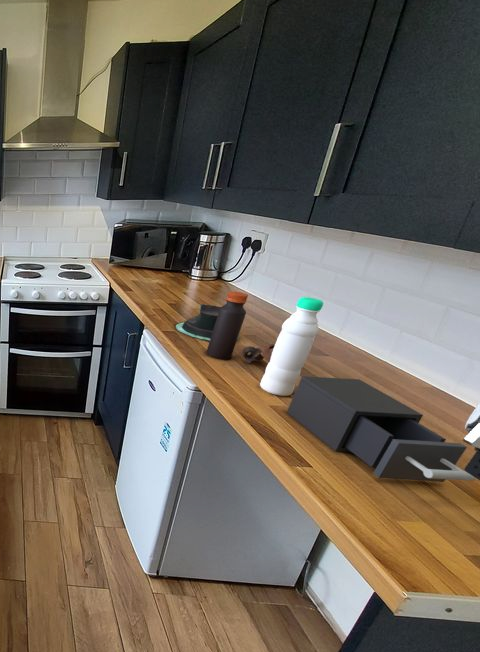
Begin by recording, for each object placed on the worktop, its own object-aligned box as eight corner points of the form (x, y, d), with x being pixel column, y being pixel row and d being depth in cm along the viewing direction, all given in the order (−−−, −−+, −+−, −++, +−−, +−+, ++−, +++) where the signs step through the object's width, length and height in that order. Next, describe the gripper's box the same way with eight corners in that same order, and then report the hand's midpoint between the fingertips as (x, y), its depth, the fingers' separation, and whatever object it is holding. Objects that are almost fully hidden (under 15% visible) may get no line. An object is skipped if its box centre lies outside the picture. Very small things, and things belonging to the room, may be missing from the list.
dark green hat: (172, 316, 157) (229, 324, 152) (172, 353, 146) (233, 363, 141) (185, 288, 145) (247, 296, 140) (186, 326, 134) (253, 336, 129)
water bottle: (256, 389, 105) (291, 298, 95) (262, 381, 110) (296, 293, 100) (288, 400, 101) (328, 305, 91) (293, 391, 106) (332, 299, 95)
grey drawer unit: (399, 455, 82) (423, 415, 78) (335, 451, 82) (356, 411, 78) (341, 415, 95) (359, 379, 91) (286, 412, 96) (302, 376, 91)
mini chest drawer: (473, 502, 69) (500, 466, 65) (403, 498, 69) (427, 461, 66) (377, 437, 86) (395, 406, 82) (322, 434, 86) (337, 402, 83)
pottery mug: (267, 362, 123) (290, 346, 117) (274, 386, 118) (298, 371, 111) (231, 349, 123) (251, 333, 117) (235, 373, 118) (257, 357, 111)
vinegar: (225, 361, 121) (247, 298, 113) (202, 354, 126) (221, 292, 118) (234, 356, 125) (255, 294, 117) (211, 349, 130) (230, 289, 122)
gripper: (532, 384, 53) (456, 491, 60) (650, 391, 52) (558, 498, 60) (469, 359, 59) (408, 458, 67) (573, 366, 59) (500, 464, 67)
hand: (479, 477), depth 63 cm, fingers closed
